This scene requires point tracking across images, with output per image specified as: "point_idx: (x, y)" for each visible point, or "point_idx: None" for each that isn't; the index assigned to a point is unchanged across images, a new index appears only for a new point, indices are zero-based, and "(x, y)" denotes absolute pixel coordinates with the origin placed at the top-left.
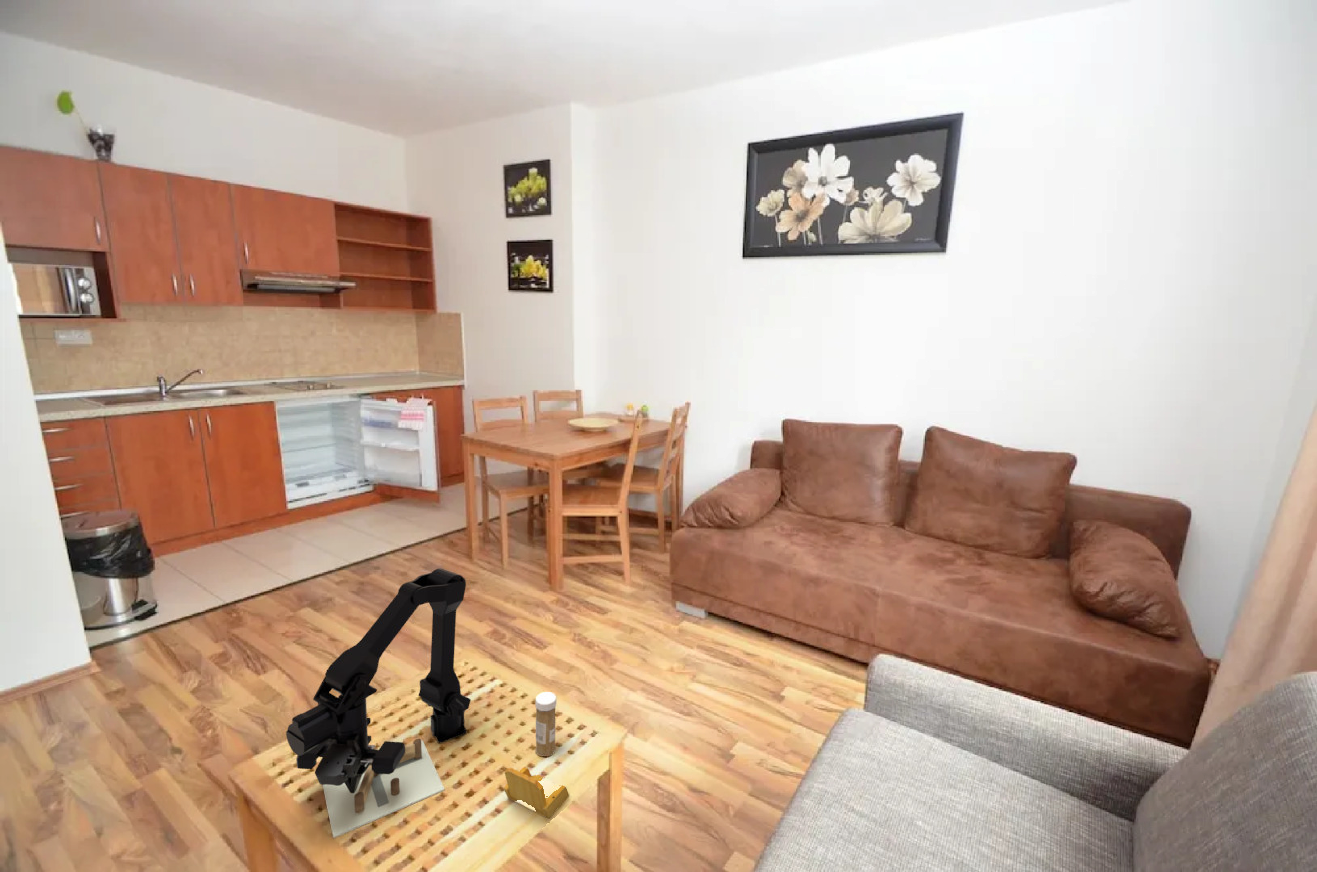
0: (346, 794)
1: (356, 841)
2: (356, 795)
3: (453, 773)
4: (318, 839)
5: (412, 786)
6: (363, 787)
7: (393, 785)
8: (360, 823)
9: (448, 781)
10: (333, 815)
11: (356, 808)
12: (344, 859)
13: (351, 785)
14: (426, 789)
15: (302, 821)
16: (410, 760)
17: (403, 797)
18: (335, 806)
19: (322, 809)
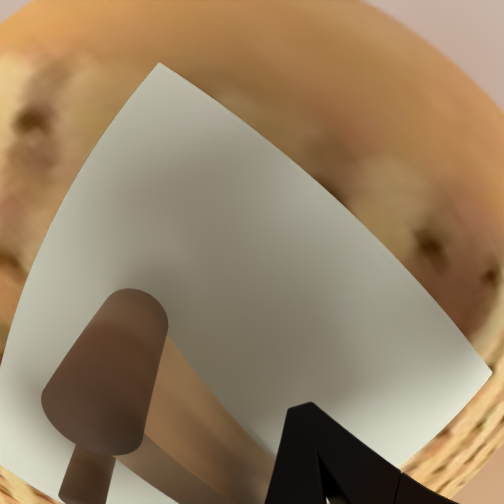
0: (349, 378)
1: (11, 122)
2: (113, 417)
3: (35, 497)
4: (262, 30)
5: None
6: (167, 484)
7: (66, 484)
8: (64, 233)
9: (16, 477)
10: (317, 221)
11: (115, 308)
12: (12, 22)
13: (310, 465)
14: (21, 459)
15: (455, 138)
16: None
17: (42, 430)
18: (357, 289)
19: (418, 245)
